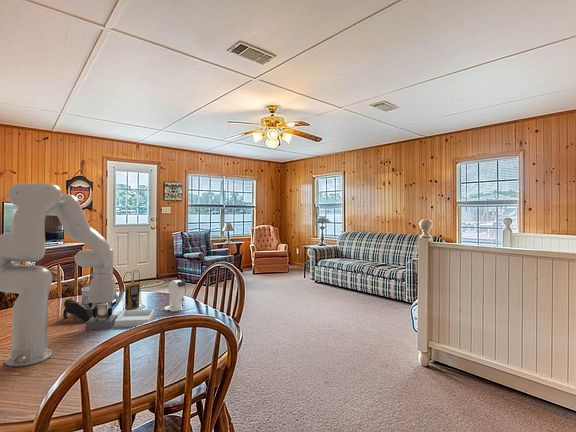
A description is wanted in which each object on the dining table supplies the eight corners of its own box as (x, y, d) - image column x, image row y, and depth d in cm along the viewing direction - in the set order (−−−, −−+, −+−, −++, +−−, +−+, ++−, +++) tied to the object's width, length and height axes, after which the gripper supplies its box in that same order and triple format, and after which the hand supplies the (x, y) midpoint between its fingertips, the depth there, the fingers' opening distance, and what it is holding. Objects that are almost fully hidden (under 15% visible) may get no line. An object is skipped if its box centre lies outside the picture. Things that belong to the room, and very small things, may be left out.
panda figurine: (191, 308, 179) (192, 280, 179) (171, 312, 171) (172, 283, 171) (180, 304, 187) (180, 277, 187) (160, 307, 179) (161, 279, 179)
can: (111, 308, 176) (111, 285, 176) (97, 314, 165) (97, 290, 165) (91, 307, 177) (91, 284, 177) (75, 313, 166) (75, 289, 166)
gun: (83, 334, 154) (92, 315, 153) (57, 315, 157) (65, 296, 156) (88, 331, 157) (97, 313, 156) (62, 313, 159) (71, 295, 159)
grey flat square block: (111, 328, 145) (111, 321, 145) (85, 329, 143) (85, 322, 143) (117, 321, 155) (117, 314, 155) (93, 322, 153) (93, 315, 153)
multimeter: (134, 314, 166) (135, 274, 166) (118, 312, 170) (119, 272, 170) (155, 307, 180) (156, 269, 180) (140, 305, 183) (141, 268, 183)
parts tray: (148, 326, 150) (148, 319, 150) (114, 327, 147) (114, 320, 147) (154, 315, 165) (154, 309, 165) (123, 316, 162) (123, 310, 162)
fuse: (105, 326, 148) (106, 306, 148) (95, 327, 147) (96, 306, 147) (108, 323, 152) (108, 303, 152) (98, 324, 151) (99, 304, 151)
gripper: (78, 278, 144) (77, 320, 144) (121, 277, 147) (120, 318, 147) (85, 274, 151) (84, 315, 151) (126, 274, 155) (125, 313, 155)
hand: (102, 316), depth 149 cm, fingers open, 4 cm apart
